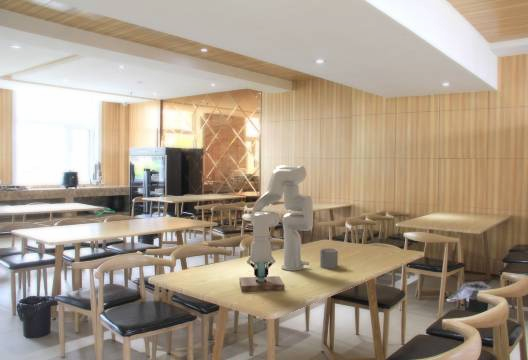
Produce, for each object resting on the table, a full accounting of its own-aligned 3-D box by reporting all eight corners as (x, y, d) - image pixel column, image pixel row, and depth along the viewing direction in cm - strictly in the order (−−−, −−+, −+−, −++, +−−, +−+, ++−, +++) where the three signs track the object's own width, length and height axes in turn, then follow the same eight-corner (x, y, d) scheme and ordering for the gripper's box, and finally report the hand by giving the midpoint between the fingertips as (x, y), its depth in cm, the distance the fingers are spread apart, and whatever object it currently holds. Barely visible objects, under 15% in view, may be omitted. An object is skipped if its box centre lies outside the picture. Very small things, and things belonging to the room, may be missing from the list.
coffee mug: (330, 269, 252) (330, 252, 251) (316, 266, 259) (316, 249, 259) (344, 266, 261) (344, 249, 261) (331, 263, 268) (331, 246, 268)
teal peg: (265, 281, 218) (264, 257, 218) (265, 284, 214) (265, 259, 214) (256, 282, 218) (256, 257, 217) (257, 284, 214) (257, 259, 213)
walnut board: (279, 282, 225) (279, 276, 225) (284, 290, 209) (284, 284, 209) (239, 283, 223) (239, 277, 223) (241, 292, 207) (241, 285, 207)
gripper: (277, 237, 220) (277, 274, 221) (243, 238, 218) (243, 275, 219) (279, 239, 213) (279, 278, 213) (244, 240, 211) (244, 279, 211)
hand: (261, 276), depth 216 cm, fingers closed on teal peg, 4 cm apart
